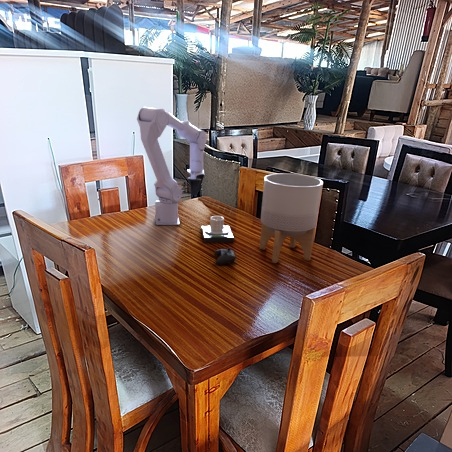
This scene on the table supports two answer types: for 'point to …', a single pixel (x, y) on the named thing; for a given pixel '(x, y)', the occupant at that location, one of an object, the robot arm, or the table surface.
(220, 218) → the small grey cup
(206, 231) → the scale
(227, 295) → the table surface
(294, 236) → the planter
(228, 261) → the gaming controller
